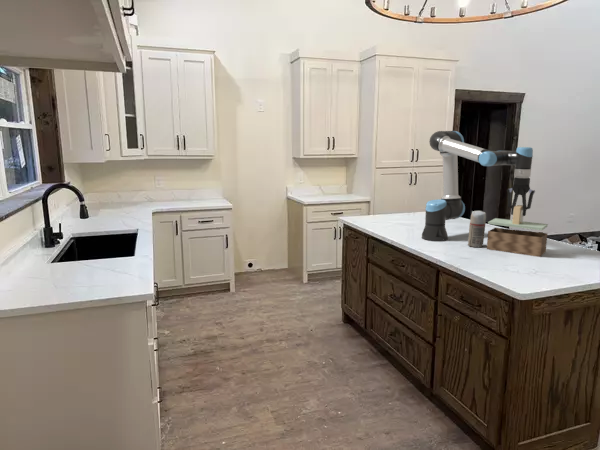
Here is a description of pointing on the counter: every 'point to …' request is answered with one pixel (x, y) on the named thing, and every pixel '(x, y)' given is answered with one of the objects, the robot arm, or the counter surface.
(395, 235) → the counter surface
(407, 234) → the counter surface
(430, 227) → the robot arm
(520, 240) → the wooden box
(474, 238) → the spray can
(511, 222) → the lid
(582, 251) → the counter surface
